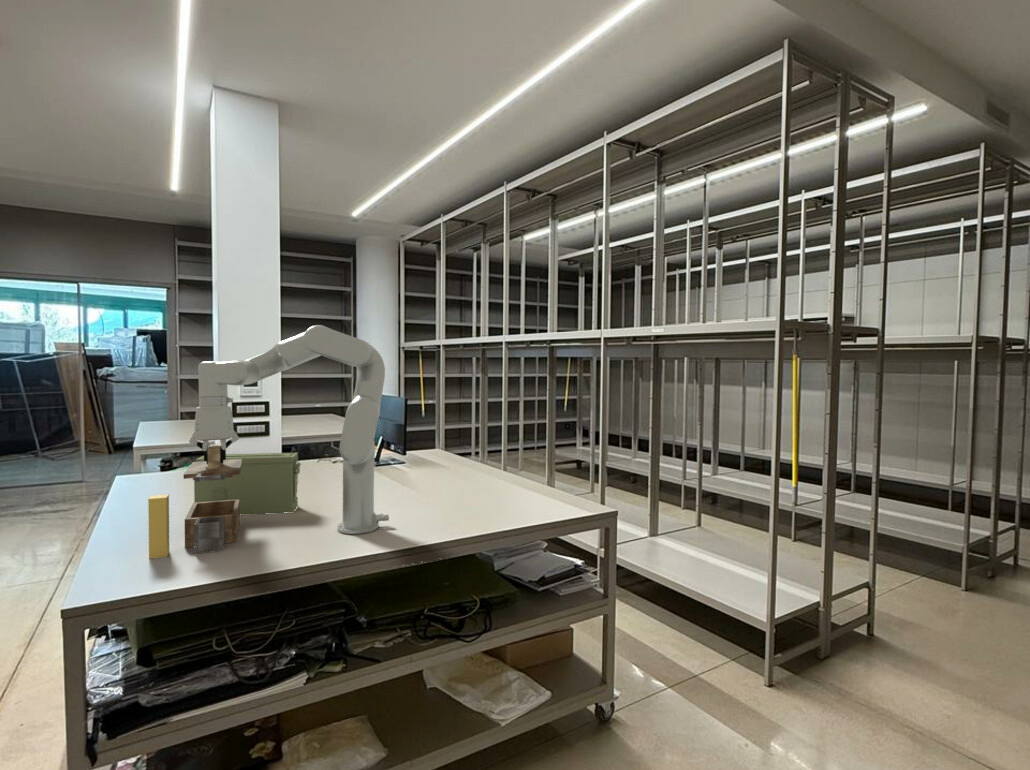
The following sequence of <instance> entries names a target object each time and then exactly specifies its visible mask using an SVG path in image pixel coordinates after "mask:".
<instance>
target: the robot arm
mask: <svg viewBox="0 0 1030 770" xmlns="http://www.w3.org/2000/svg"><path fill="white" fill-rule="evenodd" d="M319 357H324V358H327V359H329V360H332V361H333V360H334V361H337V362H339V363H342V364H344V365H347V366H351V367H356V370H357V376H356V381H355V387H354V393H353V398H352V401H350V403H349V404H348V407H347V408H346V412H345V416H344V421H343V425H342V432H341V437H340V442H339V454H340V457H341V458H342V459H343V461H342V522H341V523H339V524H338V525H337V531H338V532H339V533H341V534H347V535H348V534H349V535H358V534H366V533H371V532H374V531H375V530H378V528H379V522H387V521H389V519H390V517H389V514H384V513H379V514H377V513H375V511H374V509H375V504H374V503H375V501H374V499H375V454H376V453H375V452H376V451H375V449H376V448H375V446H376V445H375V444H376V443H375V435H376V432H377V426H378V422H379V417H380V416H381V415H380V414H381V403H382V398H383V391H384V390H383V389H384V386H385V385H384V384H385V377H386V376H385V375H386V366H385V363H384V360H383V357H382V356H381V354H380V353H379V351H378V350H377V349H376V348H375V347H374V346H373V345H371V344H370V343H369V342H367V341H366V340H363V339H360V338H357V337H355V336H352V335H349V334H346V333H344V332H340V331H339V330H338V331H337V330H334V329H332V328H331V327H330V328H329V327H327V326H324V325H322V324H316V325H312V326H310V327H309V328H307V329H306V330H305V331H304V332H301V333H299V334H297V335H295V336H292V337H289V338H287V339H283V340H281V341H279V342H277V343H276V344H275V345H274V346H273V347H272V348H270V349H269V350H267V351H265V352H264V353H261V354H258V355H256V356H253V357H251V358H248V359H246V360H231V361H219V360H218V361H216V360H215V361H212V360H211V361H209V360H208V361H202V362H199V363H198V370H197V371H198V372H197V373H198V401H199V402H198V403H199V405H198V406H197V407H196V410H195V419H194V432H193V434H192V436H191V437H190V439H189V443H190V444H191V445H195V446H196V447H198V448H200V449H201V450H202V451H203V456H204V461H206V463H207V464H208V450H207V449H208V447H209V441H220V444H221V446H222V447H221V450H220V463H223V462H224V460H226V454H227V449H228V447H230V446H231V445H232V444H233V443H236V442H238V441H239V440H240V438H239V436H238V434H237V432H236V431H235V430H234V428H235V427H234V418H233V410H232V406H230V405H229V404H230V403H234V398H233V397H229V395H228V386H235V387H237V386H247V385H251V384H254V383H256V382H260V381H262V380H265V379H266V378H269V377H272V376H274V375H277V374H279V373H281V372H284V371H287V370H289V369H292V368H294V367H297V366H299V365H301V364H303V363H307V362H309V361H312V360H313V359H318V358H319Z"/></svg>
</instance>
